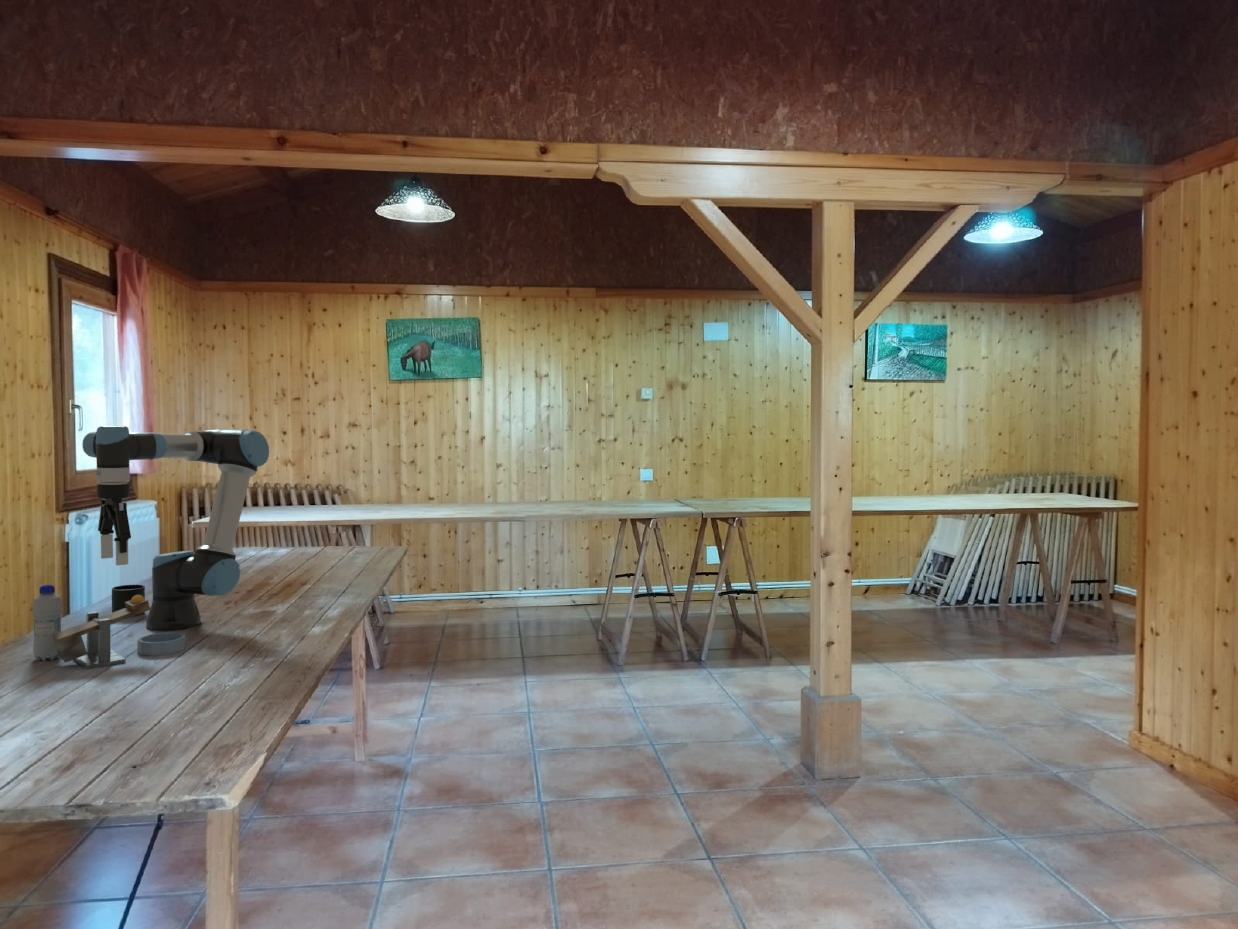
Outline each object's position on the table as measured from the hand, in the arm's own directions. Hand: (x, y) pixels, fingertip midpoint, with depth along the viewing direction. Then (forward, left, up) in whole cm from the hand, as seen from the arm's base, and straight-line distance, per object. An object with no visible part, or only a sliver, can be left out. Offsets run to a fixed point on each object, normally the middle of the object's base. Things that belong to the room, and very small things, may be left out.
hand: (114, 561), depth 219 cm
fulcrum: (+4, -1, -26) cm, 27 cm away
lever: (+1, 0, -22) cm, 22 cm away
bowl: (-11, +4, -26) cm, 29 cm away
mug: (-36, -44, -27) cm, 63 cm away
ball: (-5, +2, -12) cm, 13 cm away
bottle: (+9, -14, -27) cm, 31 cm away
